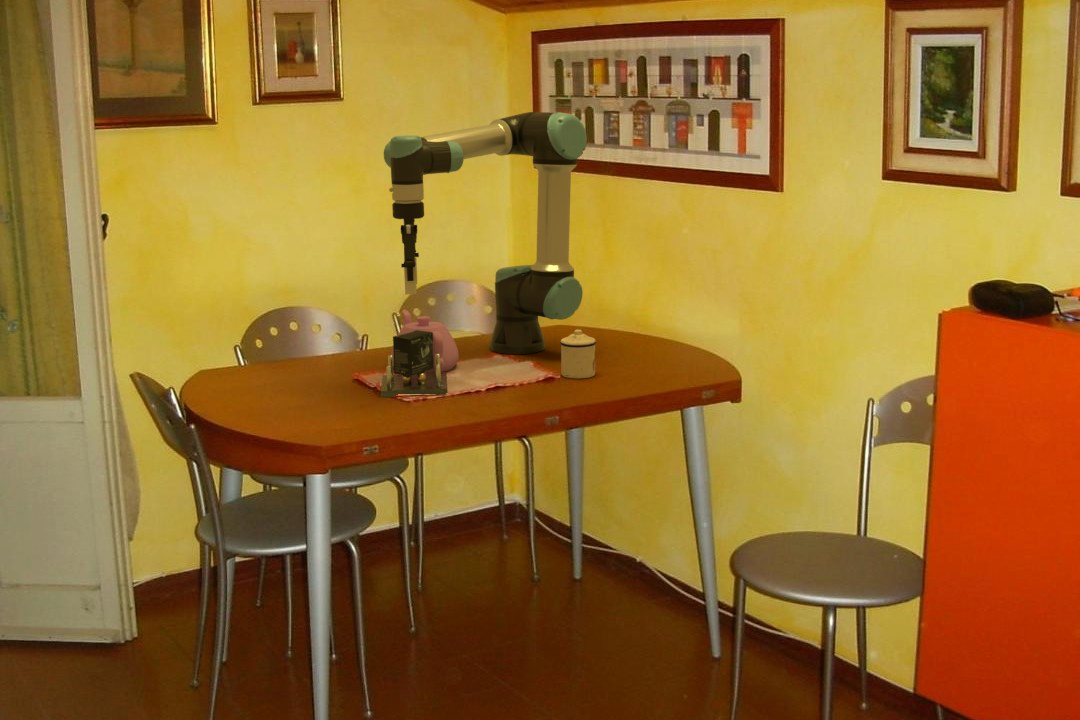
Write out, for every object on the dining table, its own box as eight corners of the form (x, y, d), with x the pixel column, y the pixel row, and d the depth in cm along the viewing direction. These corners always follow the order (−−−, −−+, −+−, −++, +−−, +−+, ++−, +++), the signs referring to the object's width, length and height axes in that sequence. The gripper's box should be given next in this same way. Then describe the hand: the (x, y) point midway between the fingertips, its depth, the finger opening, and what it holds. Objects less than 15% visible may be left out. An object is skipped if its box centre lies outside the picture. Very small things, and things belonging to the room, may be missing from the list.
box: (411, 377, 321) (409, 338, 319) (393, 374, 324) (391, 336, 322) (434, 369, 328) (433, 331, 326) (417, 366, 331) (415, 329, 329)
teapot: (474, 372, 342) (473, 320, 339) (411, 381, 333) (408, 328, 330) (434, 354, 363) (433, 305, 360) (374, 362, 355) (372, 311, 352)
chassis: (383, 380, 334) (382, 353, 332) (446, 378, 335) (446, 351, 334) (380, 397, 318) (379, 368, 317) (447, 394, 320) (446, 366, 318)
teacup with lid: (601, 377, 335) (601, 332, 332) (568, 380, 332) (567, 335, 329) (583, 367, 346) (583, 323, 343) (551, 370, 342) (550, 326, 340)
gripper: (393, 196, 328) (397, 280, 333) (390, 207, 304) (394, 298, 309) (424, 195, 329) (427, 279, 334) (423, 207, 304) (426, 297, 309)
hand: (411, 289), depth 321 cm, fingers open, 13 cm apart
